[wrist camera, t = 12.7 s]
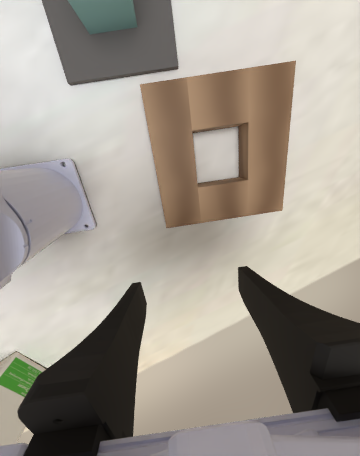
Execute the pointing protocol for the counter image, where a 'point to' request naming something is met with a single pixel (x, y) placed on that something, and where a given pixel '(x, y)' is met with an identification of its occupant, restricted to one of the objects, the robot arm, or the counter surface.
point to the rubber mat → (114, 43)
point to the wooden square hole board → (218, 119)
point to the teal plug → (105, 14)
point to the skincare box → (14, 394)
